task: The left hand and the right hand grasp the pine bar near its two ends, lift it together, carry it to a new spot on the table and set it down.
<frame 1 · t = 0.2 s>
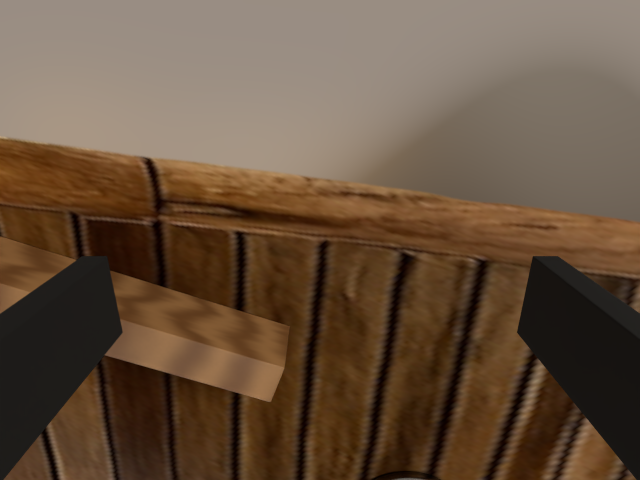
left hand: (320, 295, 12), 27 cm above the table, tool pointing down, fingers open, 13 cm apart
bar: (49, 270, 42), on the table
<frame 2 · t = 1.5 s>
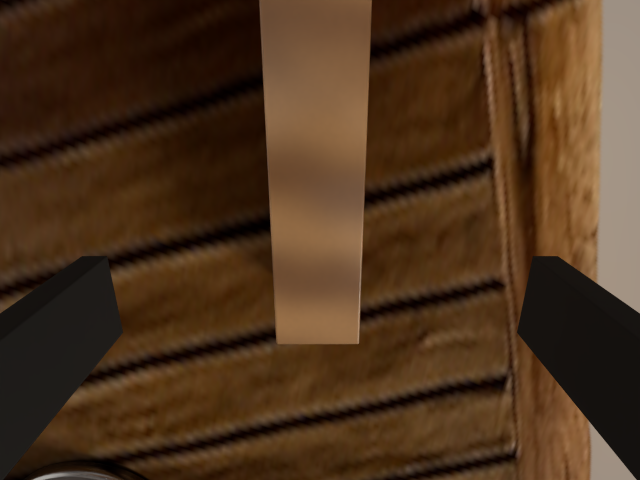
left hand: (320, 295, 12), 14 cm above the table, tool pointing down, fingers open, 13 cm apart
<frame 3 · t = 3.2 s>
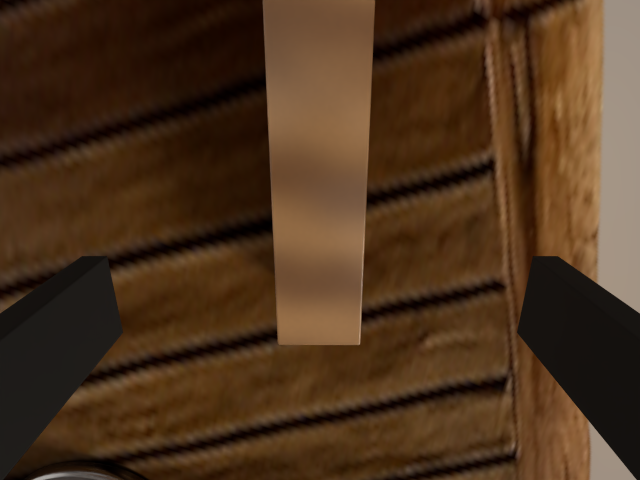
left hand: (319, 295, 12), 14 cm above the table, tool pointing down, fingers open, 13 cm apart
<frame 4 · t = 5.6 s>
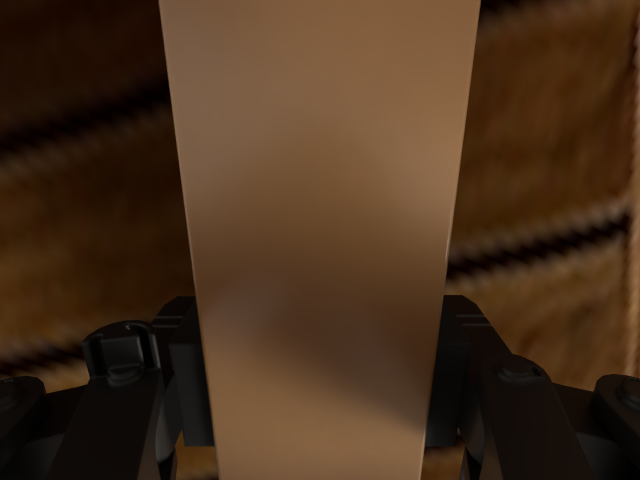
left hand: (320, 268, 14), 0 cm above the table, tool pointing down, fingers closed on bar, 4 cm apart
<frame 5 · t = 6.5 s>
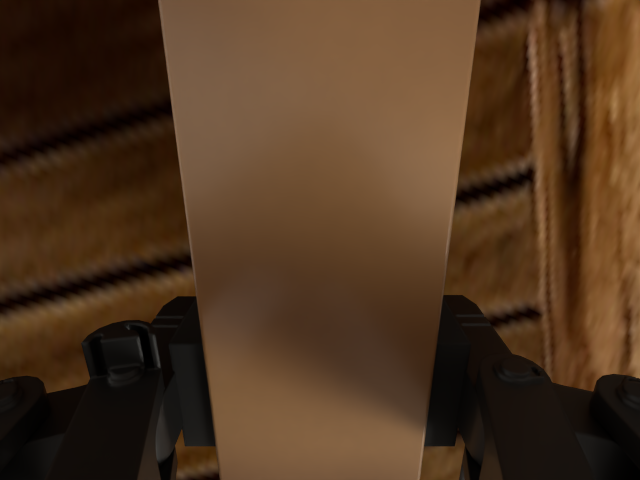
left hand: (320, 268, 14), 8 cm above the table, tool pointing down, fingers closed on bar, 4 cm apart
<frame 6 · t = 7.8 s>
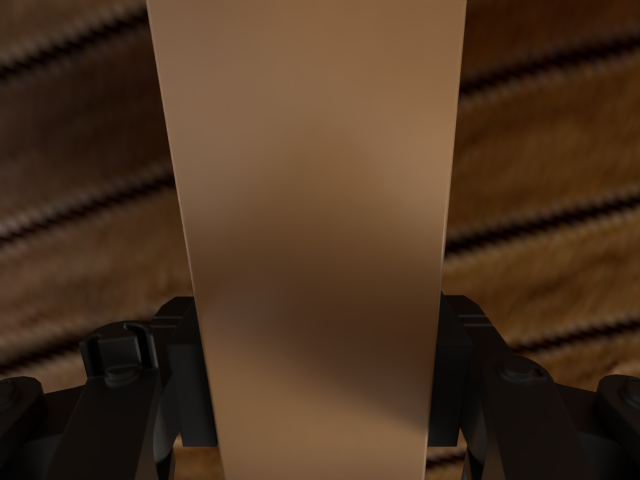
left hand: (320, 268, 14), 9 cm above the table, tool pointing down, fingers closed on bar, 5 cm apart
when the left hand's fingers open (2 cm above the table, at t = 10.0 s): bar drops 2 cm, on the table.
when the right hand's fingers open (2 cm above the table, at t = 10.0 s): bar drops 2 cm, on the table.
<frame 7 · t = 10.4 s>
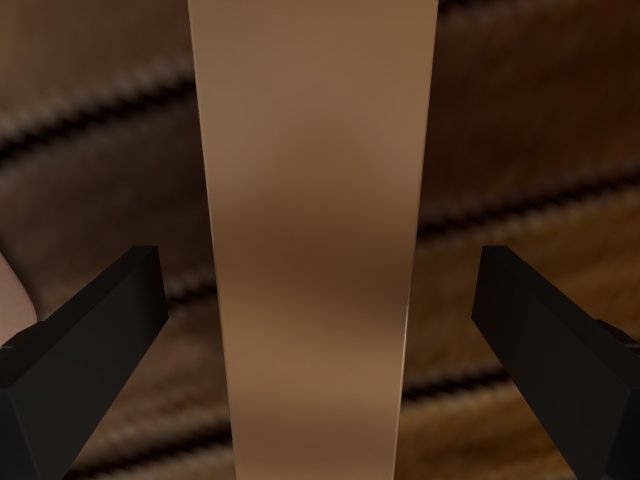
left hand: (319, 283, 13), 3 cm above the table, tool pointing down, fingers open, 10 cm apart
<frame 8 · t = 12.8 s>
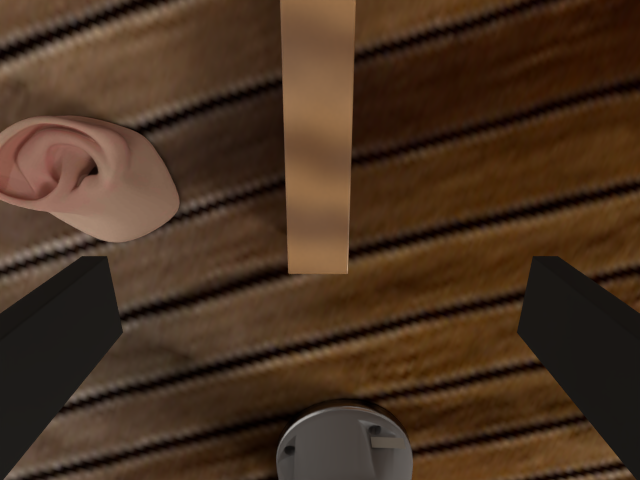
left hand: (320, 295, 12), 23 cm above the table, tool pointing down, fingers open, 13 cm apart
anatomical model: (100, 178, 34), on the table
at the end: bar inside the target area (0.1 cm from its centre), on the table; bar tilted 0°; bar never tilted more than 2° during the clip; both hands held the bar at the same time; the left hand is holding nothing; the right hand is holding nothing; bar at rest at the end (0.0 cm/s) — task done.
